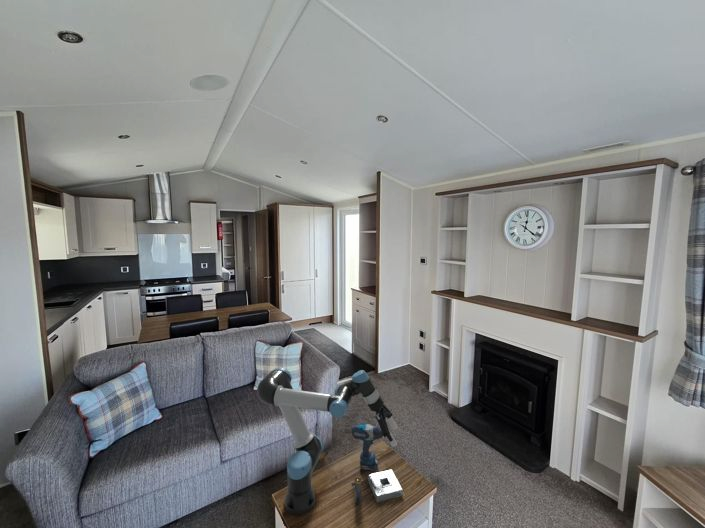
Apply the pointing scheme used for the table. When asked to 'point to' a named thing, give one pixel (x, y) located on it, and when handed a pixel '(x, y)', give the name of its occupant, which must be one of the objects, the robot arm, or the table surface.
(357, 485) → the flashlight
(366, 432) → the impact wrench
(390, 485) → the socket block
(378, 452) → the table surface
